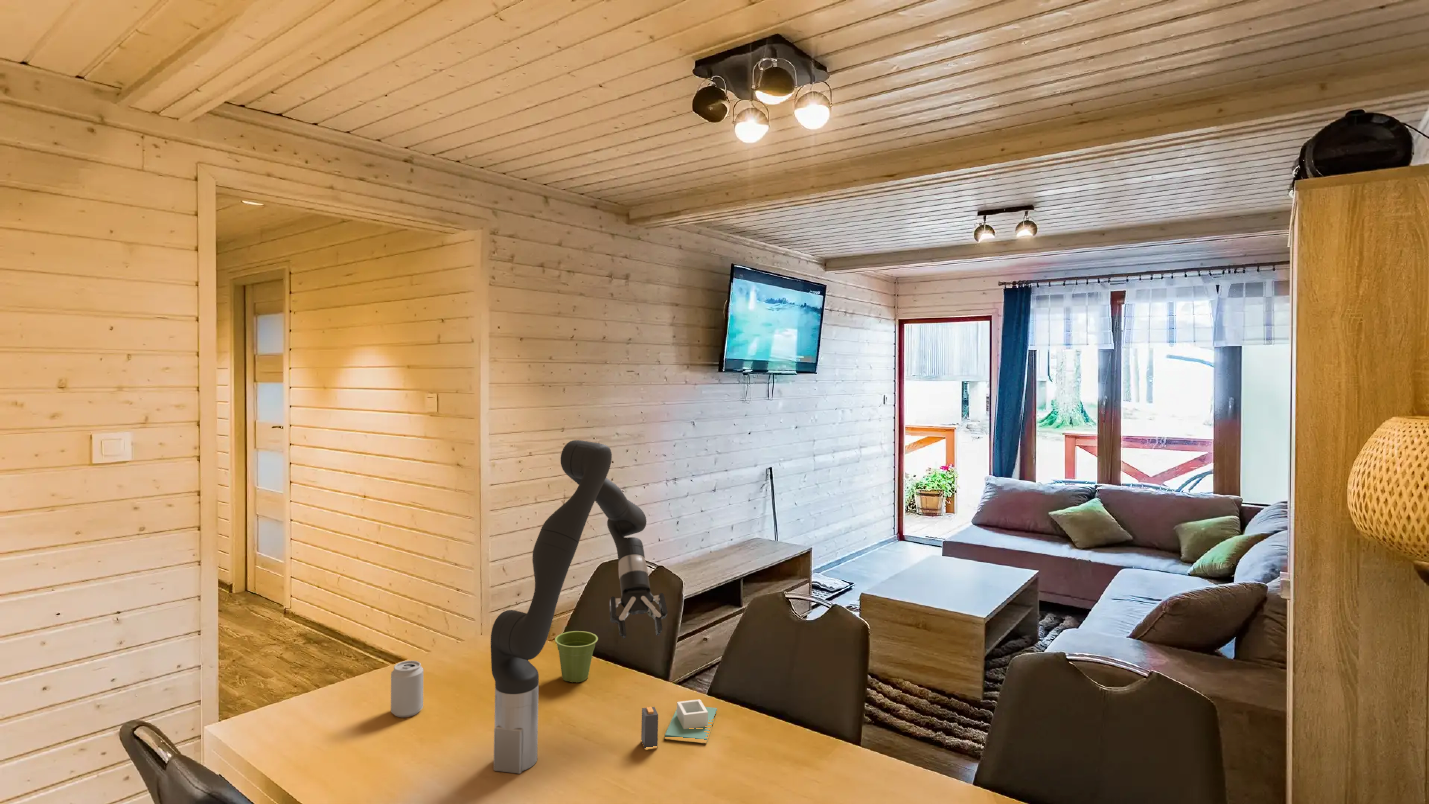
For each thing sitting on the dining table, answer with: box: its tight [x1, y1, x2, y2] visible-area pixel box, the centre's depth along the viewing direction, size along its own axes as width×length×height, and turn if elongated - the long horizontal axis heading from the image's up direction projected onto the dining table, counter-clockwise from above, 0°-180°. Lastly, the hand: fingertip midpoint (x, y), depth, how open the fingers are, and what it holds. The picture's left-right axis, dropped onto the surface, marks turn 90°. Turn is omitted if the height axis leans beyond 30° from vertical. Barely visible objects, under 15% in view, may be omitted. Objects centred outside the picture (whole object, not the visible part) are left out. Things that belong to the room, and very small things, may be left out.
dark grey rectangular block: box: [640, 706, 659, 749], centre depth 169 cm, size 4×3×8 cm
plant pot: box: [554, 630, 599, 683], centre depth 204 cm, size 12×12×11 cm
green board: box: [664, 706, 718, 740], centre depth 179 cm, size 16×10×1 cm, turn 171°
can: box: [390, 660, 424, 718], centre depth 182 cm, size 8×8×12 cm
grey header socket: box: [676, 699, 708, 729], centre depth 179 cm, size 7×6×4 cm
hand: (641, 635), depth 180 cm, fingers open, 8 cm apart
